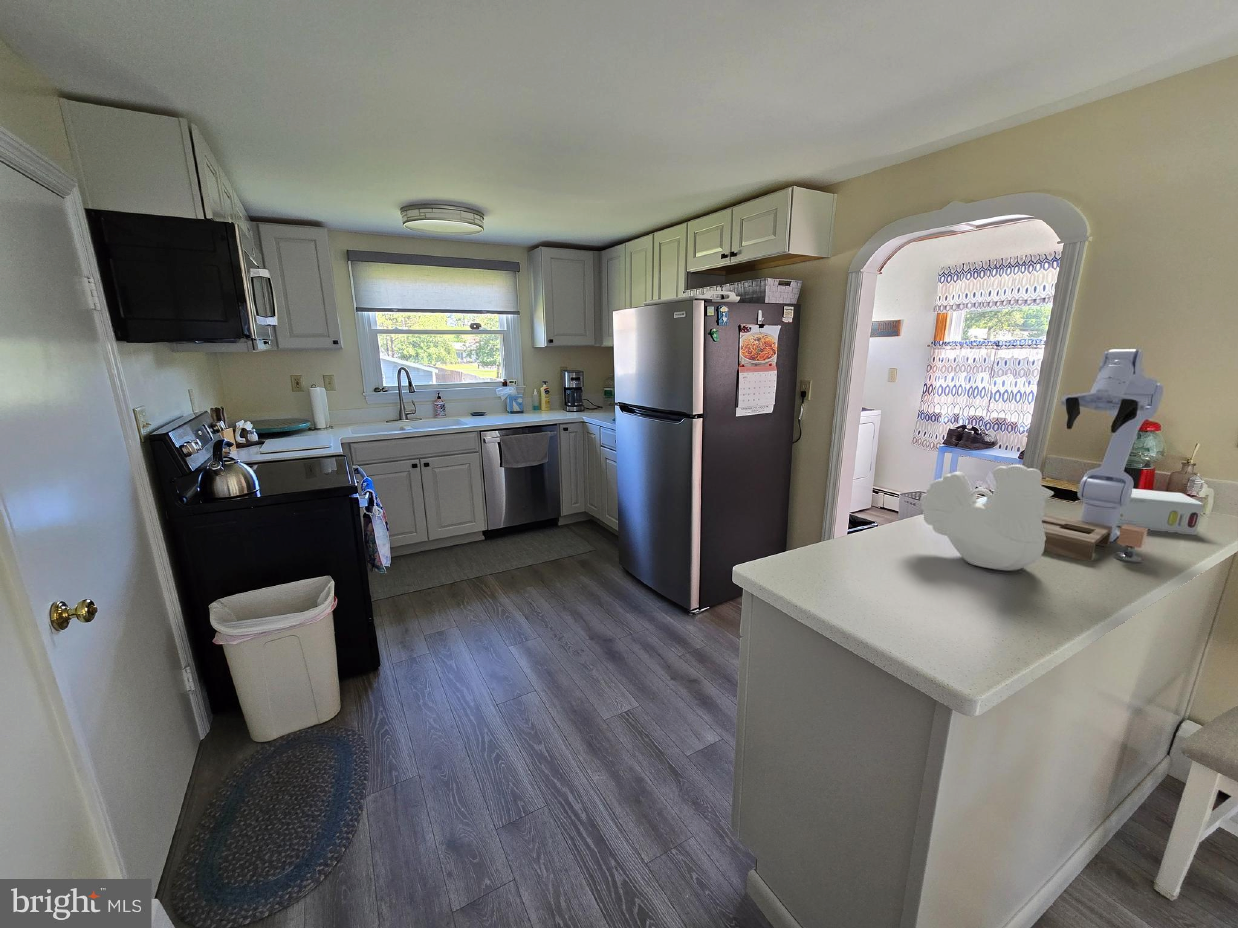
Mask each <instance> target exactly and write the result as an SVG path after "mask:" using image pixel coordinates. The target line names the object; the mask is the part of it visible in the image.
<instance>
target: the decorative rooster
mask: <svg viewBox="0 0 1238 928" xmlns="http://www.w3.org/2000/svg"><path fill="white" fill-rule="evenodd" d="M992 477H993V480H994V482H995V483H996V484H995V486H994V490H993V492H991V491H990V490H989V489H987V488H983V487H978V488H975V489H973V488H972V487H971V484H970V482H969V479H968V478H967V476H966V475H965V473H964V472H962V471H953V472H952V473H946V474H945V475H944V476H943V478H937V479H935V480H934V481H932V482H931V483H930V486H929V487H928V488H927V489H926V491H925V492H926V493H923V494H922V496H921V497H920V499H919V500H920V501H919V502H920V503H921V504H920V509H921V510H922V515H923V520H924V522H925V523H926V524H927V525H929V526H932V529H933V531H934V532H935V533H937V534H939V535H941V536H946V537H947V538H948V540H949V541H950V543H951V545H952V546H953V548H954V549H955V550H956V551H957V553H958V554H959V555H960V556H961V557H962V558H963V559H964V560H965V562H967V563H969V564H970V565H973V566H977V567H980V568H981V567H982V568H986V569H993V570H1001V571H1017V570H1020V569H1023V568H1026V567H1028V566H1030V565H1032V564H1034V563H1035V562H1037V561H1038V560H1039V559H1040V558H1041V556H1042V555H1043V553H1044V552H1045V551H1044V546H1045V540H1046V537H1045V532H1044V529H1043V525H1042V520H1043V518H1044V514H1045V507H1046V500H1048V499H1050V497H1052V496H1053V495H1054V494H1055V492H1054V491H1052V490H1050V489H1048V488H1046V487H1045V486H1043V485H1042V479H1043V473H1042V472H1041V471H1040V470H1039V469H1037V468H1028V467H1026V466H1025V465H1022V464H1010V465H1008V466H1004V465H999V466H996V468H994V470H993V471H992ZM980 494H981V495H984V496H985V497H986V501H984V502H981V501H978V500H977V495H980Z"/></svg>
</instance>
